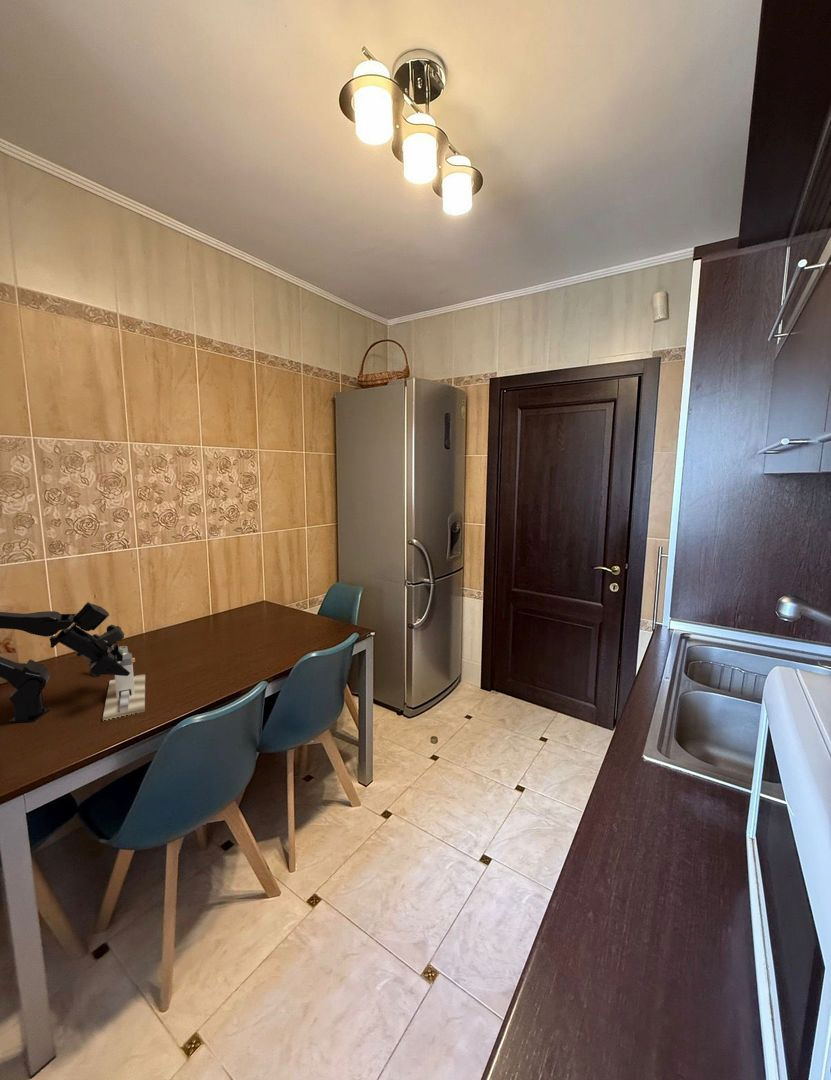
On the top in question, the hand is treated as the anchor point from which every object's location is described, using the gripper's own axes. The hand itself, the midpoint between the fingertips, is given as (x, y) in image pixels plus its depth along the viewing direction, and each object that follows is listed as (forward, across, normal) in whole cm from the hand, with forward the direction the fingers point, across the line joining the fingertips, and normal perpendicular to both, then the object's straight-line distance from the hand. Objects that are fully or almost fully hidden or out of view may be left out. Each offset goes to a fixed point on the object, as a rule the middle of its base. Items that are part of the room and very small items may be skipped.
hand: (129, 669), depth 137 cm
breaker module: (+4, 0, +6) cm, 8 cm away
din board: (+5, 0, +7) cm, 9 cm away
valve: (+2, +26, +11) cm, 28 cm away
